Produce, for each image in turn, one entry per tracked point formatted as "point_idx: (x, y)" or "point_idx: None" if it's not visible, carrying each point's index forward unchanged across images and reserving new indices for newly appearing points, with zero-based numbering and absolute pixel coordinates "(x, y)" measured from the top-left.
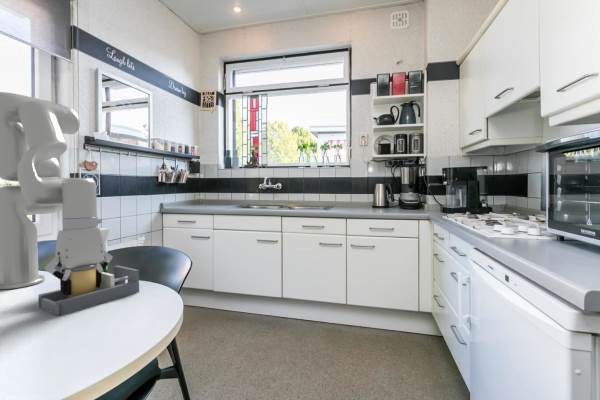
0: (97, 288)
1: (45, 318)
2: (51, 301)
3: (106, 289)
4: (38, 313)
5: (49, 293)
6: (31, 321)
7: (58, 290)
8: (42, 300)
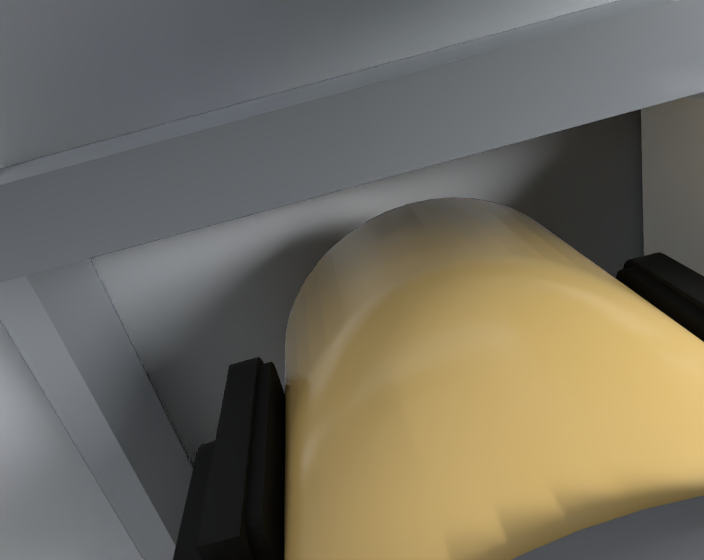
0: (680, 118)
1: (110, 540)
2: (119, 475)
3: None
4: (37, 389)
5: (60, 263)
6: (15, 543)
7: (183, 173)
8: (10, 319)
